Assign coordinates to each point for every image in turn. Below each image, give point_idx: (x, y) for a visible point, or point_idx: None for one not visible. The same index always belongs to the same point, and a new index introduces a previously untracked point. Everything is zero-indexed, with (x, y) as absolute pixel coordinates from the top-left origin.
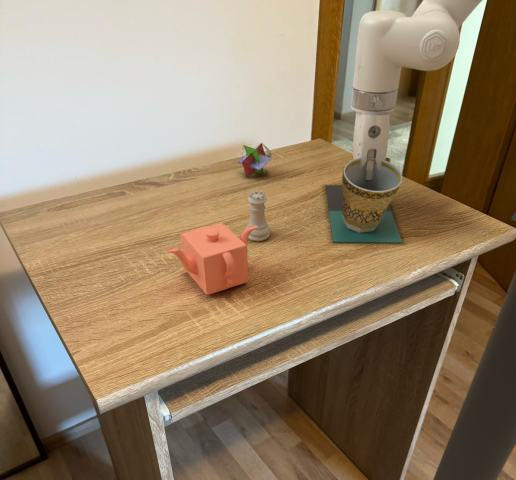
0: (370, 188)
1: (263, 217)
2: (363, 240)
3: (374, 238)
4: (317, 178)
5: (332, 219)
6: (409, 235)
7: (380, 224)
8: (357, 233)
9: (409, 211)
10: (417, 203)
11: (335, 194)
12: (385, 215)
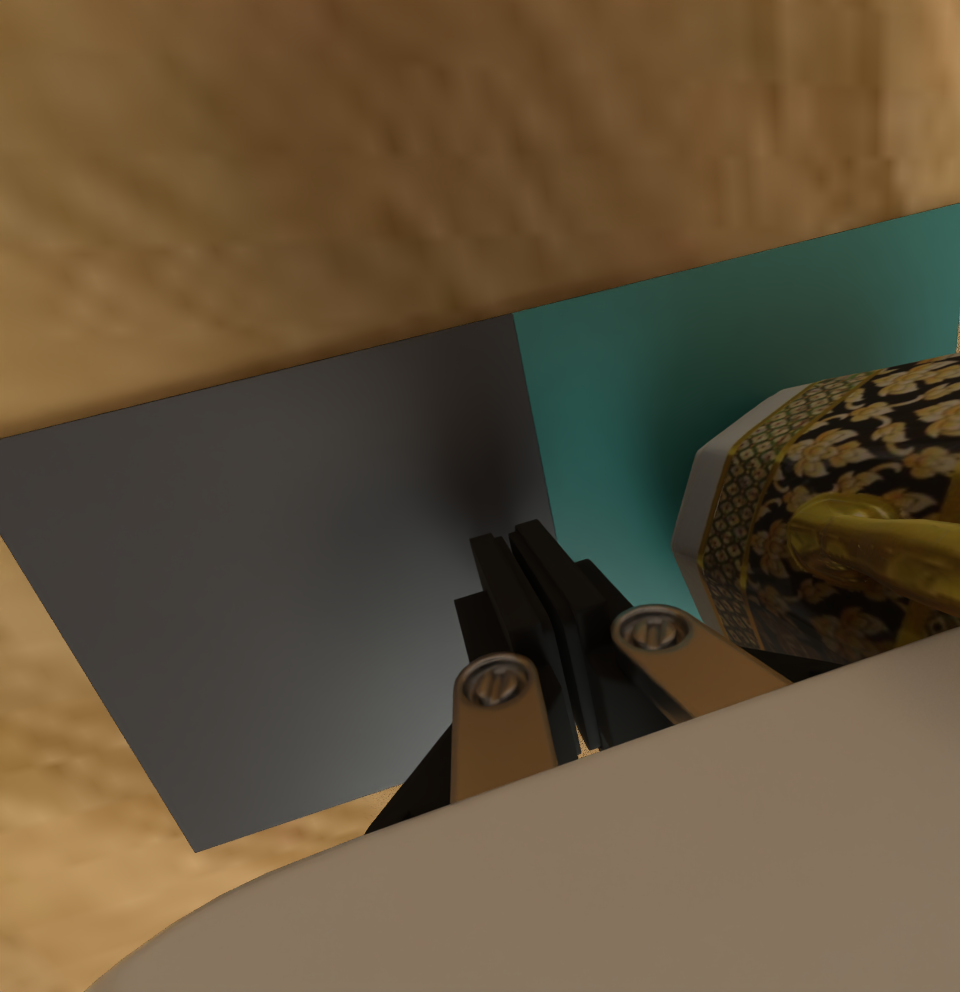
0: (858, 596)
1: None
2: None
3: None
4: (73, 930)
5: None
6: (860, 142)
7: (737, 379)
8: None
9: (451, 136)
10: (235, 33)
11: (332, 755)
12: (598, 355)
